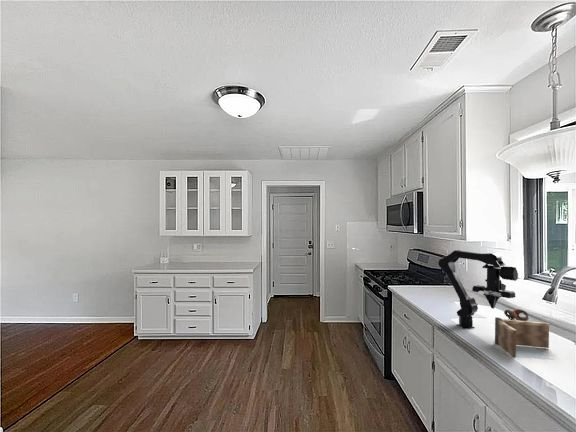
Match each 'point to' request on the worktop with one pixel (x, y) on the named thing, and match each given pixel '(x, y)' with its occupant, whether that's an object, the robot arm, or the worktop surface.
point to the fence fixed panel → (505, 336)
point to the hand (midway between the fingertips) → (492, 308)
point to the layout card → (526, 352)
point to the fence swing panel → (530, 333)
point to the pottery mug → (516, 315)
